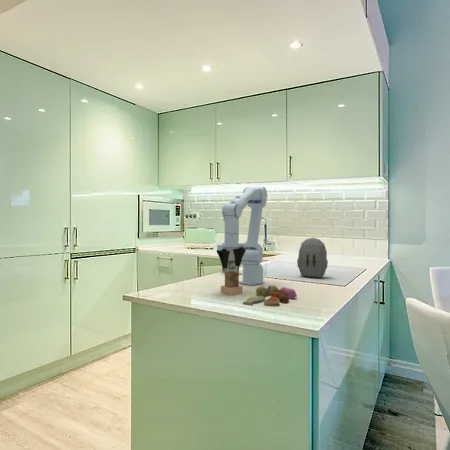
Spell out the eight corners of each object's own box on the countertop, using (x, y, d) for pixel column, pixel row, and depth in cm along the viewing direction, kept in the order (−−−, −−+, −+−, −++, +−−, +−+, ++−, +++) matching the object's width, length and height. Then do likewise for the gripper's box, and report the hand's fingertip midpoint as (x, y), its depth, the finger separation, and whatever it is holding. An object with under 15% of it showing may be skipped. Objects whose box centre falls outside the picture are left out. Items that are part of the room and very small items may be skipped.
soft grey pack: (328, 277, 179) (329, 238, 178) (325, 279, 171) (326, 238, 171) (298, 274, 185) (299, 236, 185) (295, 277, 177) (295, 237, 177)
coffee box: (239, 274, 184) (239, 243, 184) (228, 275, 182) (228, 243, 181) (232, 271, 193) (233, 242, 192) (221, 272, 190) (222, 242, 190)
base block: (231, 291, 143) (231, 284, 143) (242, 293, 139) (242, 286, 139) (220, 293, 139) (220, 286, 139) (231, 296, 135) (231, 288, 134)
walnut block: (233, 284, 141) (233, 271, 141) (238, 286, 138) (238, 272, 138) (224, 285, 139) (224, 271, 139) (229, 287, 136) (230, 273, 136)
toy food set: (260, 291, 145) (260, 281, 145) (300, 295, 139) (301, 285, 139) (241, 306, 121) (241, 294, 121) (289, 311, 115) (289, 298, 115)
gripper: (236, 232, 149) (236, 264, 150) (211, 233, 139) (211, 267, 139) (249, 233, 144) (248, 266, 145) (224, 234, 134) (224, 269, 134)
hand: (231, 267), depth 142 cm, fingers open, 7 cm apart
